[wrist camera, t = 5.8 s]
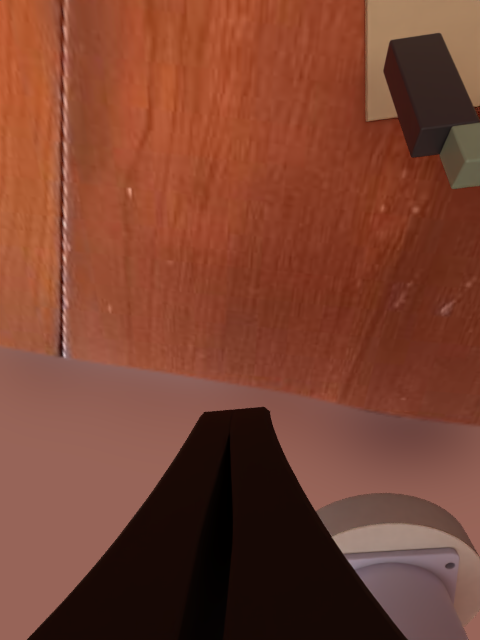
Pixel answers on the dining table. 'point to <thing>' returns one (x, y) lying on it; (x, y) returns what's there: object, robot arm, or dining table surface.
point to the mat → (414, 20)
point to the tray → (434, 106)
